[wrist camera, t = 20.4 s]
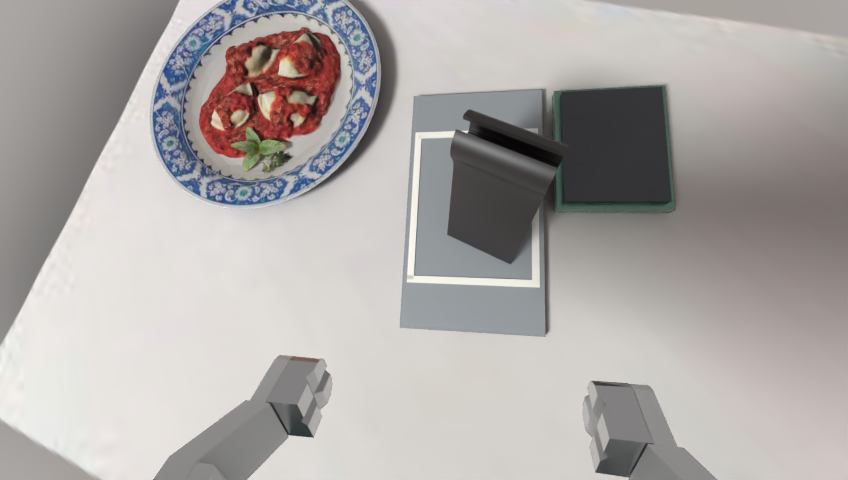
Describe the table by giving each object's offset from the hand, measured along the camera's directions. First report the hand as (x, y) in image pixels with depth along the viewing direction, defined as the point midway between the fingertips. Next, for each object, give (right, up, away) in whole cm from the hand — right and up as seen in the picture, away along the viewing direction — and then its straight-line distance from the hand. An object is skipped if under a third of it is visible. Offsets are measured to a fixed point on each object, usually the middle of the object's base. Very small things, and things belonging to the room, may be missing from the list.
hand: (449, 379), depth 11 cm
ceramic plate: (-17, +19, +27) cm, 38 cm away
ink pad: (+15, +12, +20) cm, 28 cm away
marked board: (+4, +7, +21) cm, 22 cm away
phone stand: (+6, +7, +20) cm, 22 cm away
